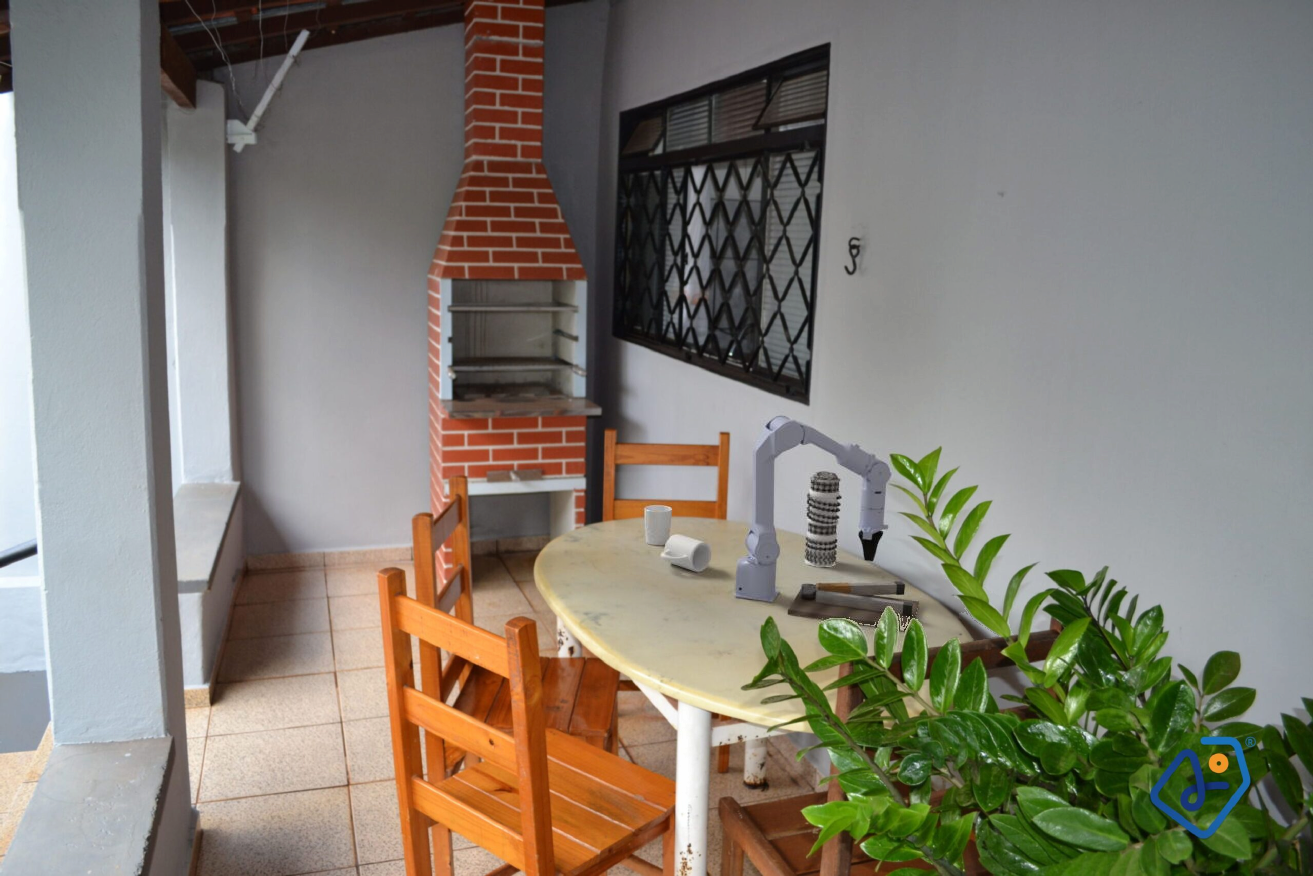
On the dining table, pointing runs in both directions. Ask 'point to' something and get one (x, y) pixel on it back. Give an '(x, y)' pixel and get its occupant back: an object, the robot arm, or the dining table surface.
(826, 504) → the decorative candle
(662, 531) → the white cup
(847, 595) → the grey long bar
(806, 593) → the tong arm
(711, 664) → the dining table surface
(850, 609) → the walnut board
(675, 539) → the mug
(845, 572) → the dining table surface
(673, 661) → the dining table surface
